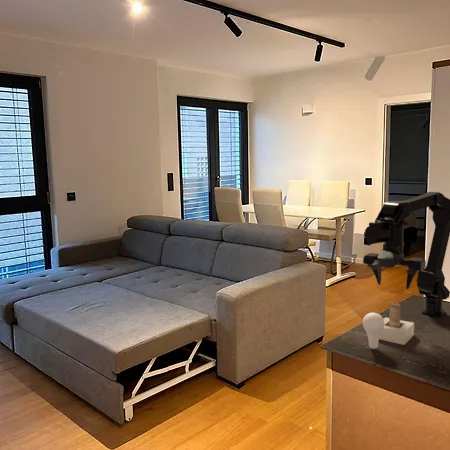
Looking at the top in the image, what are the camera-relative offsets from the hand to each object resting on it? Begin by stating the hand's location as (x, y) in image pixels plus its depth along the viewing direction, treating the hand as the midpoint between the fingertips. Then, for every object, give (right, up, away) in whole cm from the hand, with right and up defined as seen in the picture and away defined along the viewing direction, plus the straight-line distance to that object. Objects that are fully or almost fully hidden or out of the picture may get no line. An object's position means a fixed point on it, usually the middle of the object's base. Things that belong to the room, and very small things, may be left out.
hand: (393, 286), depth 150 cm
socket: (-3, -15, -8) cm, 17 cm away
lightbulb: (-12, -16, -16) cm, 26 cm away
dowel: (-3, -14, -8) cm, 16 cm away
